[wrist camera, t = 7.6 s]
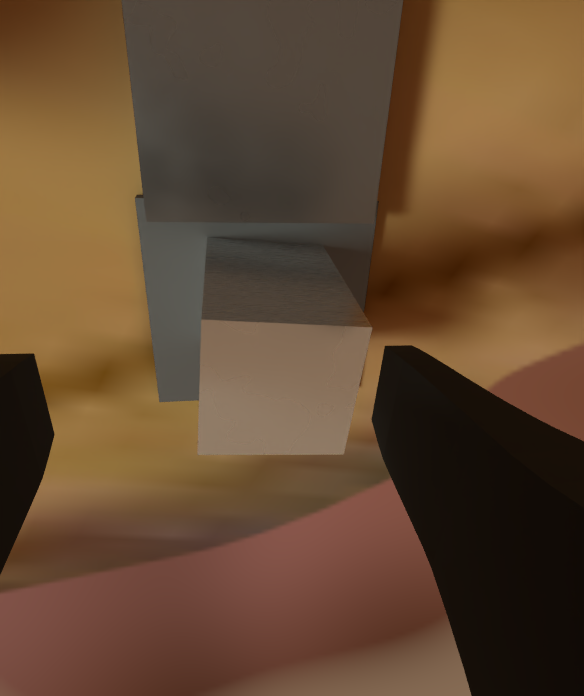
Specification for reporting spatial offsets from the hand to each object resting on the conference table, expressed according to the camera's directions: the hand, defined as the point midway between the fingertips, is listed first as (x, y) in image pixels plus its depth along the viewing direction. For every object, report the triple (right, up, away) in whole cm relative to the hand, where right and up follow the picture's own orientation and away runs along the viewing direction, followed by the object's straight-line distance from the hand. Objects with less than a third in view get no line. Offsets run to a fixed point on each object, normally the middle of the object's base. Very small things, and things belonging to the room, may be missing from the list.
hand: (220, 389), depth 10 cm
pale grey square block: (0, +3, +9) cm, 10 cm away
